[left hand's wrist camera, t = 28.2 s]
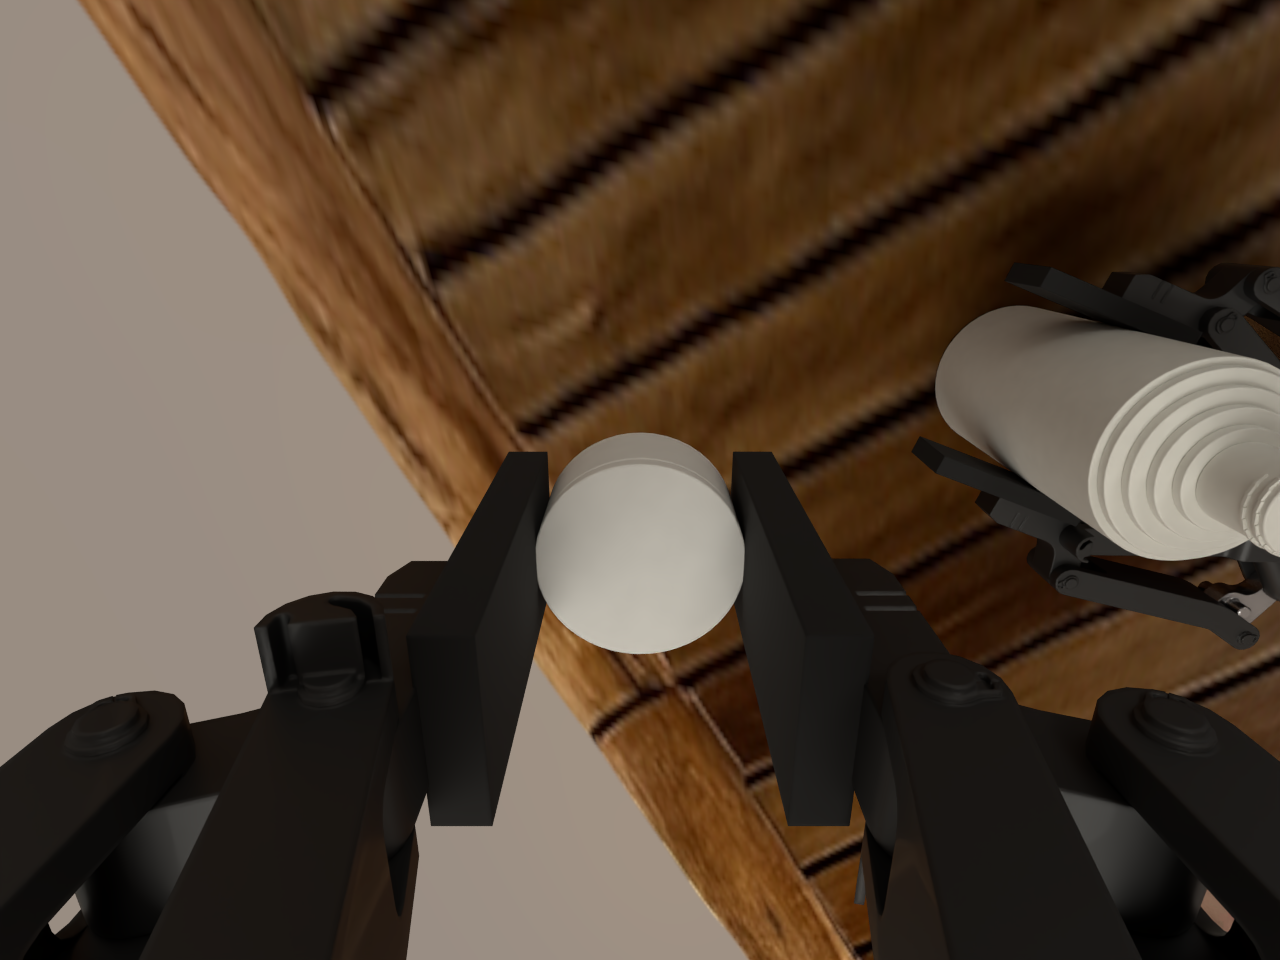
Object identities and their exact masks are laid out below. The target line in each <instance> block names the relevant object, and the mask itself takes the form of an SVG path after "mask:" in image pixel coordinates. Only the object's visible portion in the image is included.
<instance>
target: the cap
mask: <svg viewBox="0 0 1280 960" xmlns="http://www.w3.org/2000/svg"><path fill="white" fill-rule="evenodd" d="M744 553H745V543H744V538H743V535H742V531H741V528H740V525H739V522H738V519H737V516H736V512H735V509H734V506H733V503H732V500H731V497H730V494H729V491H728V488H727V486H726V484H725V482H724V480H723V478H722V477H721V475H720V474H719V472H718V470H717V469H716V468H715V467H714V466H713V465H712V463H711V462H710V461H709V460H708V459H707V458H706V457H704V456H703V455H702V454H701V453H700V452H698V451H697V450H695V449H694V448H692V447H691V446H689V445H687V444H685V443H683V442H681V441H679V440H676V439H673V438H670V437H667V436H663V435H658V434H651V433H628V434H623V435H617V436H614V437H610V438H607V439H604V440H602V441H600V442H598V443H595V444H593V445H592V446H590V447H588V448H587V449H585V450H584V451H582V452H581V453H580V454H578V455H577V456H576V457H575V458H574V459H573V460H572V461H571V462H570V463H569V464H568V465H567V466H566V467H565V469H564V470H563V471H562V473H561V474H560V476H559V477H558V479H557V481H556V483H555V485H554V487H553V490H552V493H551V496H550V499H549V502H548V505H547V508H546V511H545V514H544V517H543V520H542V524H541V527H540V530H539V533H538V536H537V540H536V563H537V579H538V584H539V587H540V590H541V592H542V595H543V597H544V599H545V601H546V602H547V604H548V606H549V607H550V609H551V610H552V611H553V613H554V614H555V615H556V617H557V618H558V619H559V620H560V621H561V622H562V623H563V624H564V625H565V626H566V627H567V628H568V629H570V630H571V631H572V632H574V633H575V634H576V635H578V636H580V637H581V638H583V639H585V640H586V641H588V642H590V643H593V644H595V645H597V646H599V647H602V648H606V649H609V650H612V651H617V652H623V653H633V654H649V653H657V652H664V651H668V650H672V649H675V648H678V647H681V646H683V645H686V644H688V643H690V642H692V641H694V640H696V639H698V638H700V637H701V636H703V635H704V634H705V633H707V632H708V631H710V630H711V629H712V628H713V627H714V626H715V625H716V624H718V623H719V622H720V621H721V619H722V618H723V617H724V616H725V615H726V614H727V612H728V611H729V610H730V608H731V606H732V605H733V603H734V602H735V600H736V598H737V596H738V593H739V591H740V589H741V586H742V582H743V571H744Z"/></svg>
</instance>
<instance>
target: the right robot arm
mask: <svg viewBox="0 0 1280 960" xmlns="http://www.w3.org/2000/svg"><path fill="white" fill-rule="evenodd" d="M1005 281H1006V282H1008V283H1011V284H1013V285H1015V286H1018V287H1020V288H1022V289H1025V290H1027V291H1029V292H1032V293H1034V294H1037V295H1039V296H1041V297H1044V298H1046V299H1048V300H1051V301H1053V302H1055V303H1058V304H1060V305H1062V306H1065V307H1067V308H1069V309H1072V310H1074V311H1077V312H1079V313H1081V314H1084V315H1086V316H1088V317H1091V318H1093V319H1095V320H1098V321H1100V322H1102V323H1105V324H1109V325H1113V326H1117V327H1121V328H1126V329H1130V330H1134V331H1138V332H1143V333H1147V334H1151V335H1156V336H1160V337H1164V338H1168V339H1173V340H1177V341H1181V342H1185V343H1190V344H1194V345H1198V346H1202V347H1207V348H1211V349H1215V350H1219V351H1224V352H1228V353H1232V354H1236V355H1241V356H1245V357H1249V358H1253V359H1257V360H1260V361H1263V362H1266V363H1269V364H1270V365H1272V366H1274V367H1276V368H1278V369H1280V361H1279V359H1278V358H1277V357H1276V356H1275V355H1274V353H1273V352H1272V351H1271V350H1270V349H1269V347H1268V346H1267V345H1266V344H1265V343H1264V341H1263V340H1262V339H1261V338H1260V337H1259V335H1258V334H1257V333H1256V332H1255V331H1254V329H1253V328H1252V327H1251V326H1250V325H1249V323H1248V322H1247V321H1246V320H1245V319H1244V317H1243V316H1245V315H1246V316H1248V317H1250V318H1251V319H1253V320H1254V321H1256V322H1257V323H1259V324H1261V325H1262V326H1264V327H1265V328H1267V329H1269V330H1270V331H1272V332H1273V333H1275V334H1277V335H1278V336H1280V268H1279V267H1270V266H1257V265H1245V264H1233V263H1222V264H1219V265H1217V266H1215V267H1213V268H1212V269H1211V270H1210V271H1209V273H1208V275H1207V277H1206V281H1205V285H1204V286H1203V287H1202V288H1200V289H1199V290H1198V291H1196V292H1194V293H1191V292H1189V291H1187V290H1184V289H1182V288H1180V287H1177V286H1175V285H1172V284H1171V283H1168V282H1166V281H1163V280H1161V279H1159V278H1157V277H1155V276H1152V275H1149V274H1141V273H1132V272H1112V273H1111V275H1110V276H1109V278H1108V280H1107V281H1106V283H1105V285H1104V286H1103V288H1102V289H1101V288H1098V287H1096V286H1094V285H1092V284H1089V283H1087V282H1085V281H1082V280H1080V279H1078V278H1075V277H1073V276H1071V275H1068V274H1066V273H1064V272H1061V271H1059V270H1057V269H1054V268H1052V267H1046V266H1038V265H1030V264H1022V263H1015V262H1014V264H1013V266H1012V268H1011V270H1010V272H1009V273H1008V275H1007V277H1006V279H1005ZM912 453H913V454H915V455H916V456H917V457H918V458H919V459H920V460H921V461H922V462H924V463H925V464H926V465H927V466H928V467H929V468H930V469H931V470H933V471H934V472H935V473H937V474H939V475H942V476H945V477H947V478H950V479H952V480H955V481H958V482H960V483H963V484H966V485H968V486H971V487H973V488H976V489H979V490H981V493H980V494H979V496H978V498H977V500H976V501H975V503H976V504H977V505H978V506H979V507H980V508H981V509H982V510H983V511H984V512H985V513H987V514H988V515H989V516H990V517H991V518H992V519H993V520H995V521H996V522H997V523H999V524H1001V525H1004V526H1007V527H1010V528H1012V529H1015V530H1018V531H1020V532H1023V533H1025V534H1028V535H1031V536H1033V537H1036V538H1037V545H1036V547H1034V548H1033V549H1032V550H1031V551H1030V552H1029V553H1028V556H1027V563H1028V564H1029V565H1030V567H1032V568H1033V569H1034V570H1035V571H1036V572H1037V573H1038V574H1039V575H1040V576H1041V577H1043V578H1044V579H1045V580H1046V581H1047V582H1048V583H1049V584H1050V585H1051V586H1052V587H1054V588H1055V589H1056V590H1057V591H1058V592H1059V593H1061V594H1063V595H1068V596H1072V597H1076V598H1080V599H1084V600H1089V601H1093V602H1097V603H1101V604H1105V605H1110V606H1114V607H1118V608H1122V609H1126V610H1131V611H1135V612H1139V613H1143V614H1147V615H1152V616H1156V617H1160V618H1164V619H1168V620H1173V621H1177V622H1181V623H1185V624H1189V625H1194V626H1198V627H1202V628H1206V629H1209V630H1211V631H1212V632H1213V633H1215V634H1216V635H1218V636H1219V637H1220V638H1222V639H1223V640H1224V641H1226V642H1227V643H1229V644H1230V645H1231V646H1233V647H1234V648H1236V649H1247V648H1250V647H1251V646H1253V645H1254V644H1255V643H1256V642H1257V641H1258V639H1259V636H1260V635H1259V631H1258V629H1257V628H1256V627H1254V626H1253V625H1252V624H1250V623H1251V622H1252V621H1253V620H1255V619H1256V618H1257V617H1258V616H1259V615H1260V614H1261V613H1263V612H1264V611H1265V610H1266V609H1267V608H1268V607H1269V606H1271V605H1272V604H1273V603H1274V602H1275V601H1276V600H1277V601H1280V557H1278V556H1275V555H1273V554H1271V553H1269V552H1267V551H1266V550H1265V549H1262V548H1260V547H1258V546H1256V545H1254V544H1253V543H1252V542H1251V541H1250V540H1248V541H1246V542H1244V543H1242V544H1240V545H1238V546H1236V547H1234V548H1231V549H1229V550H1226V551H1224V552H1221V553H1217V554H1214V555H1211V556H1222V557H1228V558H1231V559H1234V560H1237V562H1238V564H1239V567H1240V569H1241V572H1242V574H1243V577H1244V578H1245V580H1244V581H1243V582H1241V583H1239V584H1236V585H1227V584H1224V583H1214V584H1212V583H1210V582H1209V581H1204V582H1202V583H1200V584H1199V586H1198V587H1196V586H1195V585H1193V584H1192V583H1190V582H1188V581H1185V580H1183V579H1180V578H1177V577H1174V576H1170V575H1166V574H1162V573H1157V572H1153V571H1149V570H1145V569H1141V568H1137V567H1133V566H1129V565H1125V564H1120V563H1116V562H1112V561H1108V560H1104V559H1100V558H1096V557H1092V556H1090V555H1134V556H1139V555H1136V554H1133V553H1131V552H1129V551H1127V550H1125V549H1123V548H1121V547H1120V546H1118V545H1117V544H1115V543H1114V542H1113V541H1111V540H1110V539H1108V538H1107V537H1105V536H1104V535H1102V534H1101V533H1100V532H1098V531H1097V530H1095V529H1094V528H1092V527H1091V526H1090V525H1088V524H1087V523H1085V522H1084V521H1082V520H1081V519H1079V518H1078V517H1077V516H1075V515H1074V514H1072V513H1071V512H1069V511H1068V510H1067V509H1065V508H1064V507H1062V506H1061V505H1059V504H1058V503H1057V502H1055V501H1054V500H1052V499H1051V498H1049V497H1048V496H1046V495H1045V494H1044V493H1042V492H1041V491H1039V490H1038V489H1036V488H1035V487H1034V486H1032V485H1031V484H1029V483H1028V482H1026V481H1025V480H1023V479H1022V478H1021V477H1019V476H1018V475H1016V474H1015V473H1013V472H1011V471H1008V470H1006V469H1003V468H1001V467H998V466H995V465H993V464H990V463H988V462H985V461H982V460H980V459H977V458H975V457H972V456H969V455H967V454H964V453H962V452H959V451H957V450H954V449H951V448H949V447H946V446H944V445H941V444H938V443H936V442H933V441H931V440H928V439H926V438H923V437H919V439H918V441H917V443H916V444H915V446H914V448H913V450H912Z"/></svg>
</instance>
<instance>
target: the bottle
mask: <svg viewBox="0 0 1280 960" xmlns="http://www.w3.org/2000/svg"><path fill="white" fill-rule="evenodd" d="M935 392H936V400H937V404H938V407H939V410H940V412H941V415H942V416H943V418H944V420H945V421H946V423H947V424H948V425H949V426H950V427H951V428H952V429H953V430H954V431H955V432H956V433H957V434H959V435H960V436H962V437H963V438H965V439H966V440H967V441H969V442H970V443H972V444H973V445H975V446H976V447H978V448H979V449H980V450H982V451H983V452H985V453H986V454H988V455H989V456H990V457H992V458H993V459H995V460H996V461H998V462H999V463H1000V464H1002V465H1003V466H1005V467H1006V468H1008V469H1009V470H1011V471H1012V472H1013V473H1015V474H1016V475H1018V476H1019V477H1021V478H1022V479H1023V480H1025V481H1026V482H1028V483H1029V484H1031V485H1032V486H1034V487H1035V488H1036V489H1038V490H1039V491H1041V492H1042V493H1044V494H1045V495H1046V496H1048V497H1049V498H1051V499H1052V500H1054V501H1055V502H1057V503H1058V504H1059V505H1061V506H1062V507H1064V508H1065V509H1067V510H1068V511H1069V512H1071V513H1072V514H1074V515H1075V516H1077V517H1078V518H1079V519H1081V520H1082V521H1084V522H1085V523H1087V524H1088V525H1090V526H1091V527H1092V528H1094V529H1095V530H1097V531H1098V532H1100V533H1101V534H1102V535H1104V536H1105V537H1107V538H1108V539H1110V540H1111V541H1113V542H1114V543H1115V544H1117V545H1118V546H1120V547H1121V548H1123V549H1125V550H1127V551H1129V552H1131V553H1133V554H1136V555H1139V556H1142V557H1146V558H1150V559H1157V560H1173V561H1175V560H1187V559H1193V558H1200V557H1206V556H1211V555H1214V554H1217V553H1221V552H1224V551H1226V550H1229V549H1231V548H1234V547H1236V546H1238V545H1240V544H1242V543H1244V542H1246V541H1248V540H1250V541H1251V542H1252V543H1253V544H1254V545H1256V546H1258V547H1260V548H1262V549H1265V550H1266V551H1267V552H1269V553H1271V554H1273V555H1275V556H1278V557H1280V369H1278V368H1276V367H1274V366H1272V365H1270V364H1269V363H1266V362H1263V361H1260V360H1257V359H1253V358H1249V357H1245V356H1241V355H1236V354H1232V353H1228V352H1224V351H1219V350H1215V349H1211V348H1207V347H1202V346H1198V345H1194V344H1190V343H1185V342H1181V341H1177V340H1173V339H1168V338H1164V337H1160V336H1156V335H1151V334H1147V333H1143V332H1138V331H1134V330H1130V329H1126V328H1121V327H1117V326H1113V325H1109V324H1104V323H1100V322H1096V321H1092V320H1087V319H1083V318H1079V317H1075V316H1070V315H1066V314H1062V313H1058V312H1053V311H1049V310H1045V309H1041V308H1036V307H1030V306H1008V307H1004V308H999V309H996V310H993V311H991V312H988V313H986V314H984V315H982V316H980V317H978V318H977V319H975V320H974V321H972V322H971V323H969V324H968V325H967V326H966V327H965V328H963V329H962V330H961V331H960V332H959V333H958V334H957V335H956V336H955V338H954V339H953V340H952V342H951V343H950V344H949V346H948V347H947V349H946V351H945V352H944V355H943V357H942V359H941V361H940V364H939V367H938V370H937V376H936V384H935Z"/></svg>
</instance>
